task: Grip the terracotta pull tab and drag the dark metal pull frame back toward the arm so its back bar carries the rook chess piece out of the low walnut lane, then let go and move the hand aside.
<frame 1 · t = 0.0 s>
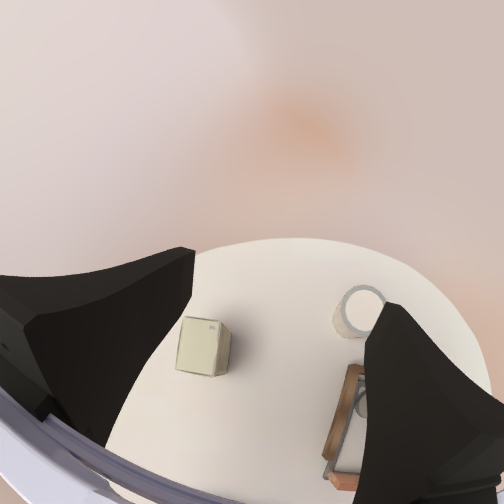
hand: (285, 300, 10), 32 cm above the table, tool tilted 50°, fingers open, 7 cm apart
rook chess piece: (367, 403, 36), resting in pull frame
pull frame: (366, 436, 32), point 3 cm above the table, slide at 0.0 cm
skincare box: (214, 353, 40), on the table
walnut lane: (364, 416, 35), on the table
shot glass: (349, 320, 42), on the table
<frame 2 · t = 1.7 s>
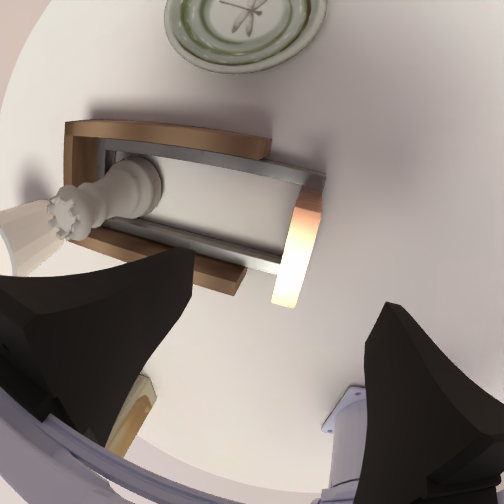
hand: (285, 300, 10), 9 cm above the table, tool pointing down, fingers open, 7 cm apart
rook chess piece: (140, 184, 20), resting in pull frame
pull frame: (176, 208, 17), point 3 cm above the table, slide at 0.0 cm
saucer: (249, 14, 14), on the table
skincare box: (134, 381, 31), on the table
walnut lane: (162, 189, 20), on the table
shot glass: (48, 225, 24), on the table
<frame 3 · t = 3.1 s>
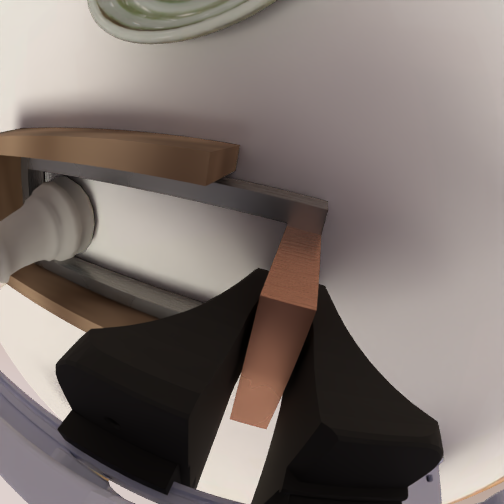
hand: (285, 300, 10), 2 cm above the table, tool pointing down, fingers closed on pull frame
rook chess piece: (73, 212, 14), resting in pull frame
pull frame: (98, 258, 10), point 3 cm above the table, slide at 0.0 cm, touching gripper
walnut lane: (95, 220, 13), on the table
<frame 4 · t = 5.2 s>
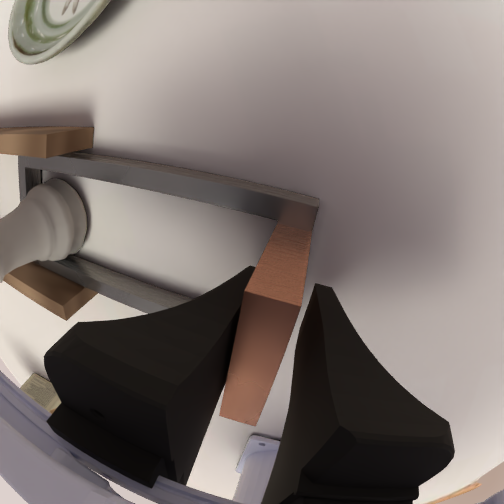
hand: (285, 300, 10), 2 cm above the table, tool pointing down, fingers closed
rook chess piece: (67, 213, 14), resting in pull frame
pull frame: (92, 255, 10), point 3 cm above the table, slide at 7.0 cm, touching gripper, rook chess piece
skincare box: (57, 391, 26), on the table
walnut lane: (22, 198, 14), on the table
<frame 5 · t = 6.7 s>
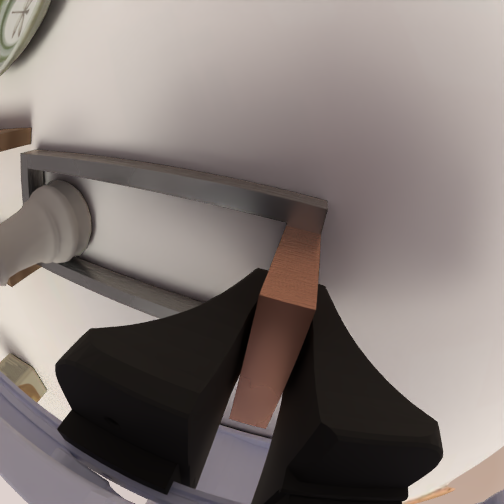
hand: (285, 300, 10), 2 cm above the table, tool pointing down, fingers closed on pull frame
rook chess piece: (71, 215, 14), resting in pull frame
pull frame: (98, 258, 10), point 3 cm above the table, slide at 13.0 cm, touching gripper, rook chess piece
saucer: (33, 13, 9), on the table
skincare box: (29, 370, 26), on the table
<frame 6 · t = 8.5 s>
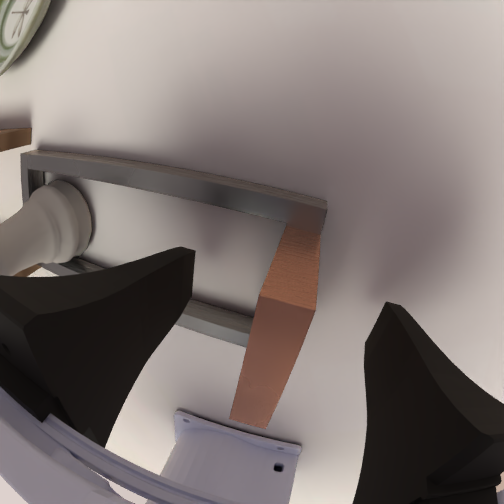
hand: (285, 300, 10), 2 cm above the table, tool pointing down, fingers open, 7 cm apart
rook chess piece: (71, 215, 14), resting in pull frame
pull frame: (98, 258, 10), point 3 cm above the table, slide at 13.0 cm
saucer: (33, 13, 9), on the table
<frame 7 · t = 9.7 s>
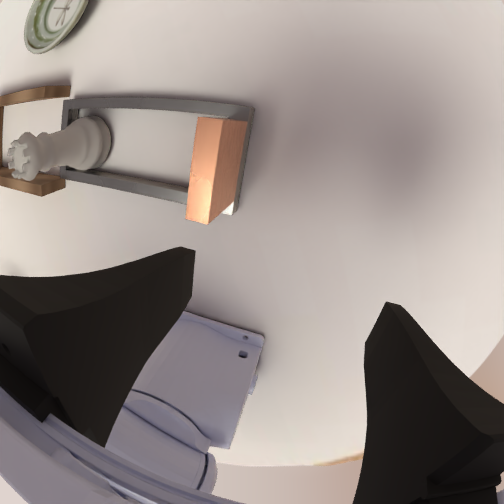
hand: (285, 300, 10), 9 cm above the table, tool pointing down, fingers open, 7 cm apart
rook chess piece: (95, 141, 20), resting in pull frame
pull frame: (117, 147, 16), point 3 cm above the table, slide at 13.0 cm
saucer: (70, 10, 15), on the table
walnut lane: (26, 136, 21), on the table
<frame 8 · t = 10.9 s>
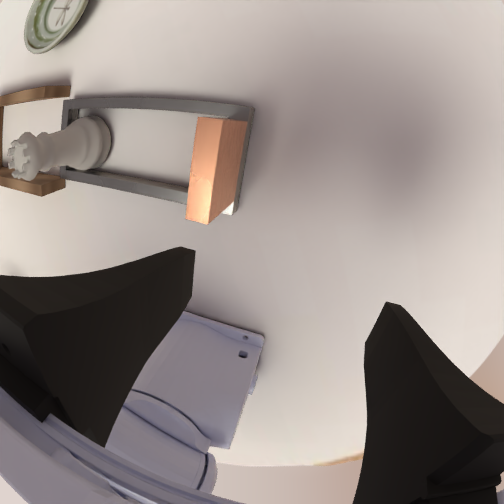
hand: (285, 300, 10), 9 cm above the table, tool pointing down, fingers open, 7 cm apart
rook chess piece: (95, 141, 20), resting in pull frame
pull frame: (117, 147, 16), point 3 cm above the table, slide at 13.0 cm
saucer: (70, 10, 15), on the table
walnut lane: (26, 136, 21), on the table
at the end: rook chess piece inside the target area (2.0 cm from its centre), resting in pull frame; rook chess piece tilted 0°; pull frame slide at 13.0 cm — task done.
